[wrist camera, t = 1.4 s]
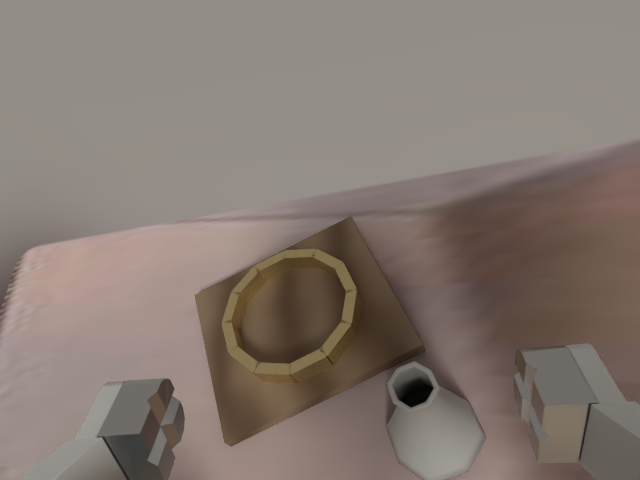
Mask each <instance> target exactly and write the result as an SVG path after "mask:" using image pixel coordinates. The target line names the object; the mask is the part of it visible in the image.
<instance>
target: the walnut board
mask: <svg viewBox="0 0 640 480" xmlns="http://www.w3.org/2000/svg"><path fill="white" fill-rule="evenodd" d="M298 249H319V250H321V251H323V252H325V253H327V254H329V255H330V256H332V257H334V258H336V259H338V260H340V261H342V262H343V263H344V264H345V266H346V268H347V270H348V272H349V274H350V276H351V278H352V280H353V282H354V284H355V286H356V288H357V290H358V292H359V294H360V296H361V298H362V307H361V314H360V322H359V329H358V334H357V336H356V337H355V339H354V340H353V341H352V343H351V344H350V345H349V347H348V348H347V349H346V351H345V352H344V353H343V355H342V356H341V357H340V359H339V360H338V361H337V363H336V364H335V365H333V367H331V368H329V369H327V370H325V371H323V372H321V373H319V374H317V375H315V376H313V377H311V378H309V379H307V380H305V381H303V382H301V383H298V384H294V383H276V382H263V381H261V380H260V379H258V378H257V377H256V376H255V375H253V374H252V373H251V372H250V371H248V370H247V369H246V368H245V367H243V366H242V365H241V364H240V363H238V362H237V361H236V360H235V359H234V358H233V357H232V356H231V355H230V354H229V353H228V349H227V345H226V341H225V337H224V332H223V328H222V319H223V316H224V313H225V310H226V307H227V303H228V300H229V297H230V294H231V292H232V290H233V289H234V288H235V287H236V286H237V285H238V283H239V282H240V281H241V280H242V279H243V278H244V277H245V275H246V274H247V273H248V272H249V271H250V270H251V269H252V268H253V266H252V267H250V268H248V269H246V270H244V271H242V272H240V273H238V274H236V275H234V276H232V277H230V278H228V279H226V280H224V281H222V282H220V283H218V284H216V285H214V286H212V287H210V288H208V289H206V290H204V291H202V292H200V293H198V294H196V295H195V299H196V304H197V309H198V314H199V319H200V324H201V329H202V334H203V339H204V344H205V349H206V354H207V359H208V364H209V368H210V373H211V378H212V383H213V388H214V393H215V398H216V403H217V408H218V413H219V418H220V423H221V428H222V433H223V438H224V443H226V444H228V445H229V446H233V445H235V444H237V443H239V442H241V441H243V440H245V439H247V438H249V437H251V436H253V435H255V434H257V433H259V432H261V431H263V430H265V429H267V428H269V427H271V426H273V425H275V424H277V423H279V422H281V421H283V420H285V419H287V418H289V417H291V416H293V415H295V414H297V413H300V412H302V411H304V410H306V409H308V408H310V407H312V406H314V405H316V404H318V403H320V402H322V401H324V400H326V399H328V398H330V397H332V396H334V395H336V394H338V393H340V392H342V391H344V390H346V389H348V388H350V387H352V386H354V385H356V384H358V383H360V382H362V381H364V380H366V379H368V378H370V377H372V376H374V375H376V374H378V373H380V372H382V371H384V370H386V369H388V368H390V367H392V366H394V365H396V364H398V363H401V362H403V361H405V360H407V359H409V358H411V357H413V356H415V355H417V354H419V353H421V352H423V351H425V349H424V346H423V344H422V342H421V340H420V339H419V337H418V335H417V333H416V331H415V330H414V328H413V326H412V324H411V323H410V321H409V319H408V317H407V316H406V314H405V312H404V310H403V308H402V307H401V305H400V303H399V301H398V300H397V298H396V296H395V294H394V293H393V291H392V289H391V287H390V285H389V284H388V282H387V280H386V278H385V277H384V275H383V273H382V271H381V270H380V268H379V266H378V264H377V262H376V261H375V259H374V257H373V255H372V254H371V252H370V250H369V248H368V247H367V245H366V243H365V241H364V239H363V238H362V236H361V234H360V232H359V231H358V229H357V227H356V225H355V224H354V222H353V220H352V218H351V217H349V218H347V219H345V220H343V221H341V222H339V223H337V224H335V225H333V226H331V227H329V228H327V229H325V230H323V231H321V232H319V233H317V234H315V235H313V236H311V237H309V238H307V239H305V240H303V241H301V242H299V243H297V244H295V245H293V246H291V247H289V248H287V249H285V250H298ZM285 250H283V251H285ZM281 252H282V251H281ZM279 253H280V252H279ZM277 254H278V253H277ZM275 255H276V254H275ZM273 256H274V255H273ZM271 257H272V256H271ZM269 258H270V257H269ZM254 267H255V265H254ZM345 295H346V291H345V289H344V287H343V284H342V282H341V280H340V279H339V278H337V277H335V276H333V275H331V274H329V273H327V272H326V271H324V270H322V269H320V268H302V269H291V270H289V271H287V272H285V273H283V274H281V275H279V276H277V277H275V278H273V279H271V280H269V281H267V282H266V283H265V284H264V285H263V287H262V288H261V289H260V290H259V291H258V292H257V293H256V295H255V296H254V297H253V298H252V299H251V300H250V302H249V303H248V304H247V308H246V311H245V315H244V318H243V322H242V325H241V329H240V332H241V335H242V339H243V343H244V347H245V350H246V353H247V354H248V355H250V356H251V357H252V358H253V359H255V360H256V361H257V362H259V363H284V364H290V363H292V362H294V361H296V360H298V359H300V358H302V357H304V356H306V355H308V354H310V353H312V352H314V351H316V350H318V349H320V348H321V347H322V346H323V344H324V343H325V342H326V341H327V339H328V338H329V337H330V335H331V334H332V333H333V331H334V330H335V329H336V328H337V326H338V325H339V324H340V322H341V320H342V314H343V308H344V302H345Z"/></svg>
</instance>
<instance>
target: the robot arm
mask: <svg viewBox="0 0 640 480" xmlns="http://www.w3.org/2000/svg"><path fill="white" fill-rule="evenodd" d="M515 363H516V366H517V368H518V371H519V372H518V373H517V374H516V375H515V376H514V394H515V400H516V404H517V408H518V411H519V414H520V417H521V419H522V420H524V421H525V422H526V423H528V424H529V425H528V439H529V441H530V444H531V447H532V449H533V452H534V454H535V457H536V460H537V462H538V463H560V462H580V465H581V466H582V467H583V468H584V469H585V470H587V471H588V472H589V473H590V474H591V475H592V476H593V477H594V478H595V479H596V480H640V405H639V404H638V403H636V402H635V401H632V402H627V401H626V400H625V398H624V396H623V395H622V393H621V391H620V390H619V388H618V387H617V385H616V383H615V382H614V380H613V378H612V377H611V375H610V374H609V372H608V370H607V369H606V367H605V365H604V364H603V362H602V361H601V359H600V357H599V356H598V354H597V352H596V351H595V349H594V348H593V346H592V345H590V344H589V343H585V344H574V345H565V346H551V347H540V348H529V349H518V350H517V352H516V358H515ZM173 391H174V387H173V385H172V383H171V381H170V379H147V380H128V381H117V382H107V383H106V384H105V385H104V386H103V387H102V388H101V390H100V392H99V394H98V396H97V398H96V399H95V401H94V403H93V405H92V407H91V409H90V411H89V412H88V414H87V416H86V418H85V420H84V422H83V424H82V426H81V427H80V429H79V431H78V433H77V435H76V437H75V439H71V440H67V441H66V442H65V443H64V444H62V445H61V446H60V447H59V448H57V449H56V450H55V451H54V452H53V453H51V454H50V455H49V456H48V457H46V458H45V459H44V460H43V461H41V462H40V463H39V464H38V465H37V466H35V467H34V468H33V469H32V470H30V471H29V472H28V473H27V474H25V475H24V476H23V477H22V478H21V479H19V480H168V478H169V475H170V472H171V469H172V466H173V463H174V460H175V456H174V454H173V452H172V449H173V448H174V447H175V446H176V445H177V444H178V443H179V442H180V441H181V438H182V434H183V431H184V419H185V417H184V411H183V407H182V405H181V402H180V401H179V400H177V399H176V398H174V397H173V396H172V394H173Z"/></svg>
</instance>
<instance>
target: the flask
mask: <svg viewBox="0 0 640 480" xmlns="http://www.w3.org/2000/svg"><path fill="white" fill-rule="evenodd" d="M386 385H387V388H388V390H389V393H390V396H391V398H392V401H393V403H394V404H395V405H397V407H396V409H395V411H394V413H393V416H392V417H391V419H390V421H389V422H388V424H387V426H386V428H387V431H388V434H389V436H390V439H391V442H392V445H393V448H394V451H395V453H396V456H397V459H398V462H399V463H400V464H402V465H403V466H404V467H406V468H407V469H409V470H410V471H412V472H413V473H414V474H416V475H417V476H419V477H420V478H422V479H423V480H447V479H449V478H452V477H454V476H457V475H460V474H462V473H465V472H468V470H469V468H470V466H471V465H472V463H473V461H474V459H475V457H476V455H477V453H478V452H479V450H480V448H481V446H482V444H483V442H484V440H485V439H486V436H485V434H484V432H483V429H482V427H481V425H480V423H479V421H478V419H477V417H476V415H475V413H474V411H473V409H472V407H471V405H470V403H469V402H468V401H466V400H465V399H463V398H461V397H459V396H457V395H456V394H454V393H452V392H450V391H449V390H447V389H445V388H443V387H441V386H440V385H438V383H437V381H436V379H435V377H434V374H433V372H432V370H430V369H428V368H427V367H425V366H423V365H421V364H419V363H417V362H416V361H413V362H411V363H408V364H406V365H403V366H401V367H398V368H396V370H395V371H394V373H393V375H392V376H391V378H390V379H389V381H388V382H387V384H386Z"/></svg>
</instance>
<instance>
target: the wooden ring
mask: <svg viewBox="0 0 640 480" xmlns="http://www.w3.org/2000/svg"><path fill="white" fill-rule="evenodd" d="M302 268H320V269H322V270H324V271H326V272H327V273H329V274H331V275H333V276H335V277H337V278H339V279H340V280H341V282H342V284H343V287H344V289H345V291H346V295H345V302H344V308H343V314H342V320H341V322H340V324H339V325H338V326H337V328H336V329H335V330H334V331H333V333H332V334H331V335H330V337H329V338H328V339H327V341H326V342H325V343H324V344H323V346H322V347H321V348H320V349H318V350H316V351H314V352H312V353H310V354H308V355H306V356H304V357H302V358H300V359H298V360H296V361H294V362H292V363H290V364H284V363H259V362H257V361H256V360H255V359H253V358H252V357H251V356H250V355H248V354H247V353H246V350H245V347H244V343H243V339H242V335H241V332H240V329H241V325H242V322H243V318H244V315H245V311H246V308H247V304H248V303H249V302H250V300H251V299H252V298H253V297H254V296H255V295H256V293H257V292H258V291H259V290H260V289H261V288H262V287H263V285H264V284H265V283H266V282H267V281H269V280H271V279H273V278H275V277H277V276H279V275H281V274H283V273H285V272H287V271H289V270H291V269H302ZM361 307H362V298H361V296H360V294H359V292H358V290H357V288H356V286H355V284H354V282H353V280H352V278H351V276H350V274H349V272H348V270H347V268H346V266H345V264H344V263H343V262H342V261H340V260H338V259H336V258H334V257H332V256H330V255H329V254H327V253H325V252H323V251H321V250H319V249H298V250H285V251H282V252H280V253H278V254H276V255H274V256H272V257H270V258H268V259H266V260H264V261H262V262H260V263H258V264H256V265H255V267H254V266H253V268H252V269H251V270H250V271H249V272H248V273H247V274H246V275H245V277H244V278H243V279H242V280H241V281H240V282H239V283H238V285H237V286H236V287H235V288H234V289H233V290H232V292H231V294H230V297H229V300H228V303H227V307H226V310H225V313H224V316H223V319H222V328H223V332H224V337H225V341H226V345H227V349H228V353H229V354H230V355H231V356H232V357H233V358H234V359H235V360H236V361H237V362H238V363H240V364H241V365H242V366H243V367H245V368H246V369H247V370H248V371H250V372H251V373H252V374H253V375H255V376H256V377H257V378H258V379H260V380H261V381H263V382H276V383H294V384H298V383H301V382H303V381H305V380H307V379H309V378H311V377H313V376H315V375H317V374H319V373H321V372H323V371H325V370H327V369H329V368H331V367H333V365H335V364H336V363H337V361H338V360H339V359H340V357H341V356H342V355H343V353H344V352H345V351H346V349H347V348H348V347H349V345H350V344H351V343H352V341H353V340H354V339H355V337H356V336H357V334H358V329H359V322H360V314H361Z"/></svg>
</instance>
